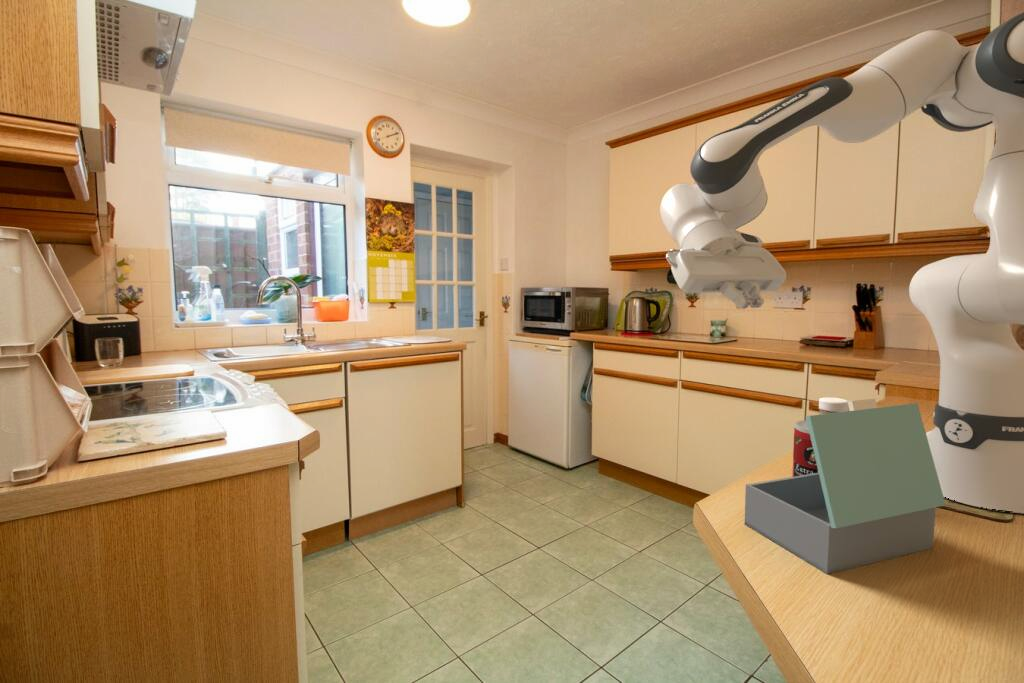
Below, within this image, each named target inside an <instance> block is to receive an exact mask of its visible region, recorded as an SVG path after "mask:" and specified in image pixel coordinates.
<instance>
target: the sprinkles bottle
mask: <svg viewBox="0 0 1024 683" xmlns="http://www.w3.org/2000/svg"><path fill="white" fill-rule="evenodd" d="M848 401H849V400H847V399H844V398H841V397H840V398H839V397H832V396H831V397H829V396H828V397H821V398H819V400H818V410H819V415H820V414H829V413H837V412H845V411H850V410H849V406H848Z"/></svg>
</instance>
